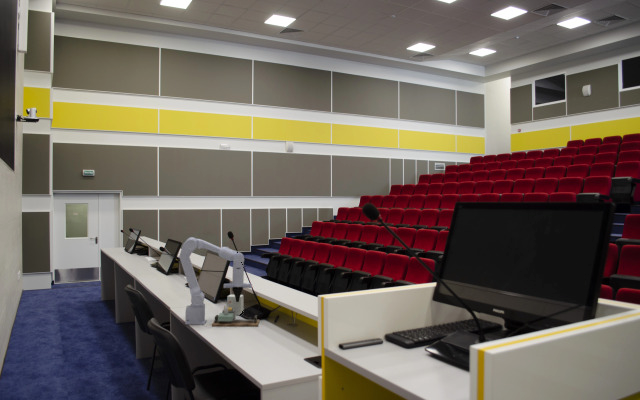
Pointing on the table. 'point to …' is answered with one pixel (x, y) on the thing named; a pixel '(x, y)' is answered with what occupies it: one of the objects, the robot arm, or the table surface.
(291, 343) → the table surface
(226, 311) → the carriage
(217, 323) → the rail bed
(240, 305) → the small box
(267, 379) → the table surface
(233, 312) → the gauge cabinet
